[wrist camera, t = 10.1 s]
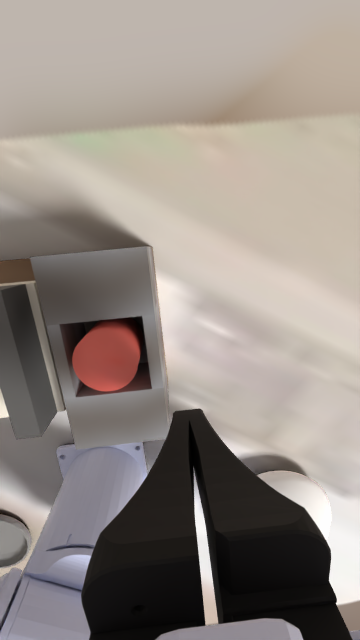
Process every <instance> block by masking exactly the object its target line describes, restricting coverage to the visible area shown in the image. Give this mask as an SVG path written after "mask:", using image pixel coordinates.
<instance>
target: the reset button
mask: <svg viewBox="0 0 360 640" xmlns="http://www.w3.org/2000/svg"><path fill="white" fill-rule="evenodd" d="M142 346H143V333H142V330H141V328H140V326H139V325H138V323H137V322H136V321H134V320H133V319H132V318H130V317H127V318H117V319H107V320H99V321H98V322H97V323H96V324H95V325H94V327H93V328H92V329H91V330H90V331H89V332H88V333H87V334H86V335H85V336H84V338H83V339H82V340H81V341H80V342H79V343H78V344H77V346H76V347H75V350H74V352H73V357H72V364H73V368H74V371H75V373H76V375H77V377H78V378H79V379H80V380H81V381H82V382H83V383H84V384H85V385H87V386H88V387H90V388H92V389H95V390H99V391H115V390H118V389H121V388H123V387H124V386H126V385H127V384H129V383H130V382H131V381H132V379H133V378H134V376H135V374H136V372H137V368H138V364H139V359H140V355H141V350H142Z"/></svg>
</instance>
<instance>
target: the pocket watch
mask: <svg viewBox="0 0 360 640" xmlns="http://www.w3.org/2000/svg"><path fill="white" fill-rule="evenodd" d="M31 542H32V540H31V535H30V532H29V530H28V529H27V528H26V526H25V525H24V524H23V523H21V522H20V521H18V520H16V519H15V518H13V517H10V516H6V515H0V568H7V567H11V566H14V565H16V564H18V563H20V562H21V561H22V560H23V559H24V558H25V557H26V556H27V554H28V552H29V550H30V547H31Z"/></svg>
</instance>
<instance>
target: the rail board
mask: <svg viewBox="0 0 360 640" xmlns="http://www.w3.org/2000/svg"><path fill="white" fill-rule="evenodd" d="M25 281H36V285H37V289H38V293H39V297H40V302H41V306H42V310H43V314H44V318H45V322H46V327H47V331H48V335H49V339H50V343H51V347H52V352H53V356H54V360H55V364H56V368H57V372H58V377H59V381H60V385H61V389H62V393H63V398H64V402H65V406H66V410H67V414H68V418H69V423H70V427H71V431H72V435H73V439H74V443H75V448H76V450H78V449H86V448H95V447H103V446H112V445H120V444H129V443H137V442H146V441H154V440H163V439H166V437H167V435H168V432H169V400H168V379H167V371H166V362H165V353H164V344H163V336H162V327H161V318H160V309H159V301H158V292H157V283H156V274H155V266H154V257H153V248H152V247H149V246H143V247H133V248H122V249H111V250H100V251H90V252H79V253H68V254H57V255H47V256H36V257H30V258H27V259H16V260H5V261H0V284H4V283H15V282H25ZM127 317H130V318H132V319H133V320H134V321H136V322H137V323H138V325H139V326H140V328H141V330H142V333H143V346H142V350H141V355H140V359H139V364H138V368H137V372H136V374H135V376H134V378H133V379H132V381H131V382H130V383H129V384H127V385H126V386H124V387H123V388H121V389H118V390H115V391H99V390H95V389H92V388H90V387H88V386H87V385H85V384H84V383H83V382H82V381H81V380H80V379H79V378H78V377H77V375H76V373H75V371H74V368H73V364H72V357H73V352H74V350H75V347H76V346H77V344H78V343H79V342H80V341H81V340H82V339H83V338H84V336H85V335H86V334H87V333H88V332H89V331H90V330H91V329H92V328H93V327H94V325H95V324H96V323H97V322H98V321H99V320H107V319H117V318H127Z"/></svg>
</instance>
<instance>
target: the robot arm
mask: <svg viewBox="0 0 360 640" xmlns="http://www.w3.org/2000/svg"><path fill="white" fill-rule="evenodd" d="M136 446H139V448H137V447H136ZM56 454H57V458H58V462H59V466H60V469H61V473H62V477H63V483H62V485H61V488H60V490H59V492H58V495H57V497H56V499H55V502H54V504H53V506H52V509H51V511H50V513H49V515H48V518H47V520H46V522H45V525H44V527H43V529H42V532H41V534H40V536H39V539H38V541H37V543H36V545H35V548H34V550H33V552H32V555H31V557H30V559H29V561H28V563H27V565H26V567H25V568H24V570H23V572H22V570H21V569H18V568H12V569H11V570H10V572H9V573H6V574H5V575H3V576H2V577H0V640H360V630H357V631H348V629H347V627H346V625H345V623H344V620H343V618H342V616H341V614H340V612H339V610H338V607H337V605H336V602H337V599H336V595H335V593H334V591H333V589H332V587H331V585H330V583H329V572H330V563H331V550H330V548H329V546H328V544H327V542H326V540H325V538H324V536H323V534H322V532H321V531H320V529H319V528H318V526H317V525H316V523H315V522H314V520H313V519H312V517H311V516H310V515H309V513H308V512H307V510H306V509H305V508H304V507H302V506H301V505H299V504H297V503H296V502H294V501H292V500H291V499H289V498H287V497H286V496H284V495H282V494H281V493H279V492H278V491H276V490H275V489H274V488H272V487H271V486H269V485H268V484H267V483H266V482H264V481H263V480H262V479H261V478H259V477H258V476H257V475H255V474H254V473H253V472H252V471H251V470H250V469H249V468H247V467H246V466H245V465H244V464H243V463H242V462H241V461H240V460H239V459H238V458H237V457H236V456H235V455H234V454H233V453H232V452H231V451H230V449H229V448H228V447H227V446H226V445H225V444H224V442H223V441H222V440H221V439H220V437H219V436H218V435H217V433H216V432H215V431H214V429H213V428H212V426H211V425H210V423H209V422H208V420H207V418H206V417H205V415H204V413H203V411H202V410H201V409H192V410H183V411H175V412H174V413H173V419H172V423H171V426H170V429H169V432H168V435H167V437H166V440H165V442H164V445H163V447H162V449H161V451H160V453H159V455H158V458H157V459H156V461H155V463H154V465H153V467H152V468H151V470H150V472H149V473H147V466H146V460H145V453H144V447H143V442H137V443H129V444H120V445H112V446H103V447H95V448H86V449H78V450H76V448H75V444H71V445H63V446H59V447H58V449H57V451H56ZM62 455H64V456H62ZM193 466H194V471H195V476H196V480H197V485H198V490H199V494H200V499H201V504H202V508H203V513H204V518H205V524H206V531H207V539H208V546H209V554H210V561H211V569H212V577H213V584H214V592H215V600H216V608H217V616H218V623H219V624H216V625H208V626H205V616H204V605H203V595H202V585H201V575H200V565H199V555H198V545H197V535H196V526H195V514H194V471H193ZM21 572H22V574H21ZM20 575H21V576H20Z"/></svg>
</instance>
